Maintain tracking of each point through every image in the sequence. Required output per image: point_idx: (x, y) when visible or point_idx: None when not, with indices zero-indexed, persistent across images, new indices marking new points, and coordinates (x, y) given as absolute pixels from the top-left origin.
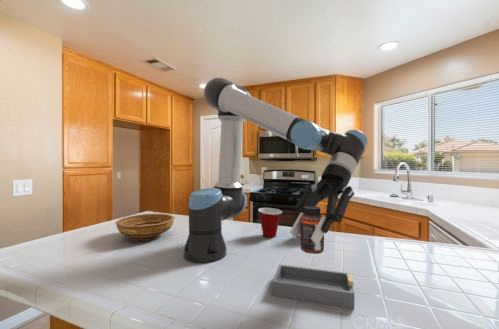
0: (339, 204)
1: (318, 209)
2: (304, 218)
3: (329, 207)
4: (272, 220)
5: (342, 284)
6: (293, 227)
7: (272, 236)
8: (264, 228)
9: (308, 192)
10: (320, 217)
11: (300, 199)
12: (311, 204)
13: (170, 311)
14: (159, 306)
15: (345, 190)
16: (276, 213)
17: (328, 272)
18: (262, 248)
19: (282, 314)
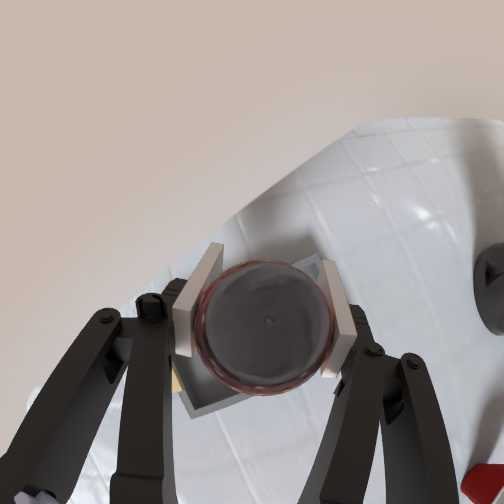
0: (68, 375)
1: (208, 309)
2: (282, 263)
3: (142, 367)
4: (491, 486)
5: (204, 395)
6: (333, 274)
7: (465, 479)
8: (492, 466)
9: (425, 500)
10: (201, 314)
11: (439, 419)
12: (333, 428)
13: (375, 142)
14: (392, 141)
15: (10, 484)
16: (496, 500)
17: (236, 394)
18: (457, 420)
19: (258, 226)
